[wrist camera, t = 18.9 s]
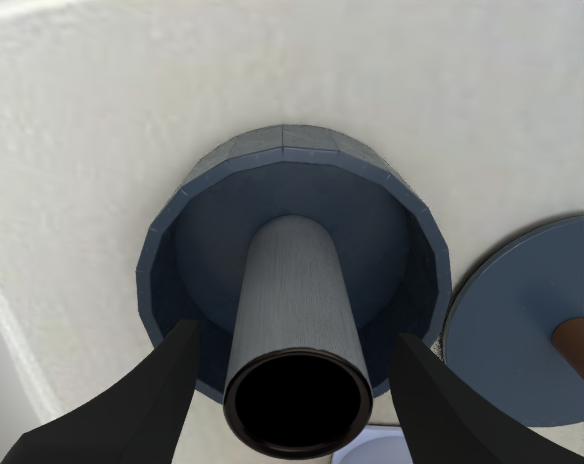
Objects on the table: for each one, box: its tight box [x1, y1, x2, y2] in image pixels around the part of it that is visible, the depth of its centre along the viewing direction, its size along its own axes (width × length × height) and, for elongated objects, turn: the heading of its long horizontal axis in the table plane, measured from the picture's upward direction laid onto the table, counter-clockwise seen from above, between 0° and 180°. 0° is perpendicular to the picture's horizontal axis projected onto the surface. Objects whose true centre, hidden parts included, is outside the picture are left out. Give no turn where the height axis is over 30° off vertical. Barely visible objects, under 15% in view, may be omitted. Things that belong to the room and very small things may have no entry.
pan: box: [136, 125, 452, 405], centre depth 20 cm, size 13×13×5 cm
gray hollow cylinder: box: [223, 215, 373, 460], centre depth 17 cm, size 4×4×10 cm
